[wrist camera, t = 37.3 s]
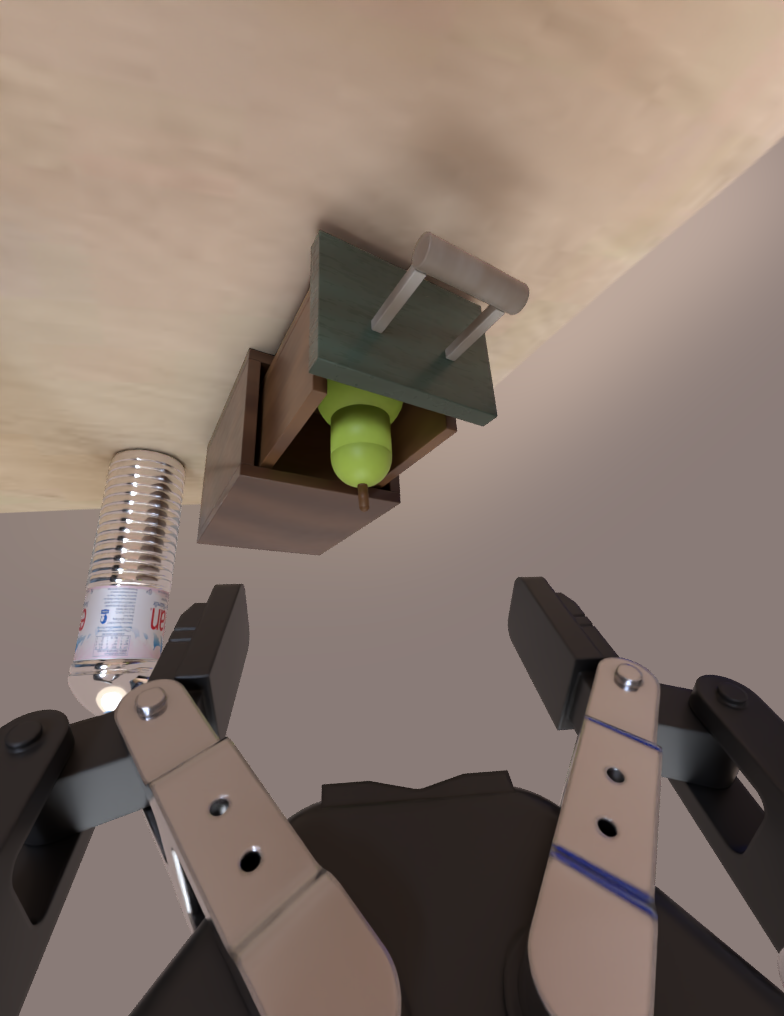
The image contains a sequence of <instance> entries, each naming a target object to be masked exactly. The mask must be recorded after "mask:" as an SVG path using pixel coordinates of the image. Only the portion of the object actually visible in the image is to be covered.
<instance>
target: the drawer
mask: <svg viewBox="0 0 784 1016" xmlns="http://www.w3.org/2000/svg"><path fill="white" fill-rule="evenodd" d="M426 274H427V275H429V276H431V277H433V278H435V279H438V280H440V281H442V282H444V283H446V284H448V285H450V286H452V287H454V288H456V289H458V290H460V291H462V292H464V293H466V294H469V295H471V296H473V297H475V298H477V299H479V300H481V301H483V302H485V303H487V304H489V306H488V307H487V308H486V309H485V310H484V311H483V312H481V307H480V306H479V305H477V304H475V303H473V302H471V301H469V300H466V299H464V298H462V297H460V296H458V295H456V294H454V293H452V292H450V291H448V290H445V289H443V288H441V287H439V286H437V285H435V284H433V283H431V282H429V281H427V280H424V278H425V277H426ZM528 297H529V288H528V286H527V285H526V284H525V283H523V282H521V281H519V280H517V279H516V278H514V277H512V276H510V275H508V274H506V273H504V272H503V271H501V270H499V269H497V268H495V267H493V266H492V265H490V264H488V263H486V262H484V261H482V260H480V259H479V258H477V257H475V256H473V255H471V254H469V253H468V252H466V251H464V250H462V249H460V248H458V247H456V246H455V245H453V244H451V243H449V242H447V241H445V240H444V239H442V238H440V237H438V236H436V235H434V234H432V233H431V232H425V233H424V234H423V235H422V236H421V237H420V238H419V240H418V241H417V243H416V246H415V248H414V251H413V255H412V265H411V266H410V268H409V269H408V270H407V271H405V270H403V269H401V268H399V267H397V266H395V265H393V264H391V263H389V262H387V261H384V260H382V259H380V258H378V257H376V256H374V255H372V254H370V253H368V252H366V251H363V250H361V249H359V248H357V247H355V246H353V245H351V244H349V243H347V242H344V241H342V240H340V239H338V238H336V237H334V236H332V235H330V234H328V233H326V232H323V231H321V230H319V232H318V234H317V236H316V238H315V241H314V243H313V245H312V247H311V276H310V288H309V290H308V292H307V294H306V296H305V298H304V300H303V302H302V304H301V306H300V308H299V310H298V312H297V314H296V316H295V318H294V320H293V322H292V324H291V326H290V328H289V329H288V331H287V333H286V335H285V337H284V339H283V341H282V343H281V345H280V347H279V349H278V351H277V353H276V355H275V357H274V359H273V361H272V363H271V365H270V367H269V369H268V371H267V373H266V374H265V376H264V378H263V380H262V382H261V384H260V386H259V399H258V414H257V429H256V443H255V458H254V466H259V467H264V468H269V469H275V470H280V471H285V472H291V473H296V474H301V475H306V476H312V477H317V478H322V479H328V480H333V481H338V482H343V481H342V480H341V479H340V478H339V477H338V476H337V475H336V473H335V472H334V470H333V467H332V464H331V426H330V425H329V424H328V423H327V422H326V420H325V419H324V418H323V417H322V415H321V413H320V412H319V409H318V406H319V404H320V403H321V402H322V400H323V399H324V398H325V396H326V395H327V379H329V380H333V381H336V382H339V383H342V384H346V385H349V386H352V387H356V388H359V389H362V390H365V391H369V392H372V393H375V394H378V395H382V396H385V397H388V398H392V399H395V400H398V401H401V402H403V405H402V408H401V410H400V412H399V414H398V416H397V418H396V419H395V420H394V421H393V423H392V424H391V425H390V426H391V444H392V463H391V467H390V470H389V472H388V473H387V475H386V476H385V478H384V479H383V480H382V481H380V482H379V483H377V484H376V485H374V486H371V487H370V488H376V489H381V488H382V487H383V486H385V485H386V484H387V483H389V482H390V481H391V480H393V479H394V478H395V477H397V476H398V475H399V474H401V473H402V472H403V471H405V470H406V469H407V468H409V467H410V466H411V465H413V464H414V463H415V462H417V461H418V460H419V459H421V458H422V457H423V456H425V455H426V454H428V453H429V452H430V451H432V450H433V449H434V448H435V447H437V446H438V445H440V444H441V443H442V442H443V441H445V440H446V439H448V438H449V437H450V436H452V435H453V434H454V433H456V432H457V426H456V418H457V419H461V420H464V421H467V422H470V423H474V424H477V425H480V426H485V425H486V424H488V423H489V422H490V421H492V420H493V419H495V418H496V417H497V410H496V404H495V397H494V391H493V384H492V377H491V371H490V364H489V358H488V351H487V345H486V338H485V332H486V331H487V330H488V329H489V328H490V327H491V326H492V325H493V324H494V323H495V322H496V321H497V320H498V319H500V318H501V317H502V316H503V315H504V313H505V312H506V313H508V314H510V315H514V314H517V313H519V312H520V311H521V310H522V309H523V307H524V306H525V304H526V303H527V300H528Z"/></svg>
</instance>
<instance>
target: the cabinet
mask: <svg viewBox="0 0 784 1016" xmlns="http://www.w3.org/2000/svg"><path fill="white" fill-rule="evenodd" d="M274 357H275V356H273V355H269V354H266V353H263V352H260V351H257V350H253V349H249V351H248V353H247V356H246V358H245V360H244V363H243V365H242V367H241V370H240V372H239V374H238V377H237V379H236V381H235V384H234V386H233V388H232V391H231V393H230V395H229V398H228V400H227V402H226V405H225V407H224V409H223V412H222V414H221V416H220V419H219V421H218V423H217V426H216V428H215V430H214V433H213V435H212V437H211V440H210V442H209V444H208V447H207V455H206V463H205V473H204V482H203V491H202V500H201V509H200V518H199V528H198V537H197V543H199V544H209V545H220V546H229V547H239V548H249V549H259V550H269V551H281V552H290V553H300V554H310V555H321V554H323V553H324V552H326V551H327V550H329V549H330V548H332V547H333V546H335V545H336V544H338V543H339V542H341V541H343V540H344V539H346V538H347V537H349V536H350V535H352V534H353V533H355V532H356V531H358V530H360V529H361V528H363V527H364V526H366V525H367V524H369V523H371V522H372V521H373V520H375V519H377V518H378V517H380V516H381V515H383V514H384V513H386V512H387V511H389V510H391V509H392V508H393V507H395V506H396V505H398V504H400V487H399V486H400V485H399V475H398V476H397V477H395V478H394V479H393V480H391V481H390V482H389V483H387V484H386V485H385V486H383V487H382V488H381V489H376V488H370V487H368V495H369V506H370V507H369V510H368V511H367V512H362V511H361V510H360V509H359V501H358V489H357V488H356V487H352V486H349V485H347V484H346V483H344V482H338V481H333V480H328V479H322V478H317V477H312V476H306V475H301V474H296V473H291V472H285V471H280V470H275V469H269V468H264V467H259V466H254V458H255V443H256V429H257V414H258V399H259V386H260V384H261V382H262V380H263V378H264V376H265V374H266V373H267V371H268V369H269V367H270V365H271V363H272V361H273V359H274Z"/></svg>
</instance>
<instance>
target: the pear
mask: <svg viewBox="0 0 784 1016" xmlns="http://www.w3.org/2000/svg"><path fill="white" fill-rule="evenodd" d="M402 405H403V402H401V401H398V400H395V399H392V398H388V397H385V396H382V395H378V394H375V393H372V392H369V391H365V390H362V389H359V388H356V387H352V386H349V385H346V384H342V383H339V382H336V381H333V380H329V379H327V395H326V396H325V398H324V399H323V400H322V402H321V403H320V404H319V406H318V409H319V412H320V413H321V415H322V417H323V418H324V419H325V420H326V422H327V423H328V424H329V425H330V426H331V464H332V467H333V470H334V472H335V473H336V475H337V476H338V477H339V478H340V479H341V480H342V481H343V482H344V483H346V484H347V485H349V486H352V487H356V488H357V489H358V501H359V509H360V510H361V511H362V512H367V511H368V510H369V507H370V506H369V495H368V487H371V486H374V485H376V484H377V483H379V482H380V481H382V480H383V479H384V478H385V476H386V475H387V473H388V472H389V470H390V467H391V463H392V444H391V426H390V425H391V424H392V423H393V421H394V420H395V419H396V418H397V416H398V414H399V412H400V410H401V408H402Z"/></svg>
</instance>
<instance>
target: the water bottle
mask: <svg viewBox="0 0 784 1016" xmlns="http://www.w3.org/2000/svg"><path fill="white" fill-rule="evenodd" d="M184 479H185V470H184V467H183V465H182V464H181V463H180V462H179V461H178V460H176V459H175V458H173V457H171V456H168V455H166V454H163V453H160V452H155V451H150V450H139V449H135V450H126V451H122V452H120V453H118V454H116V455H115V456H114V457H113V459H112V461H111V463H110V468H109V470H108V477H107V480H106V486H105V493H104V496H103V503H102V506H101V513H100V516H99V522H98V530H97V532H96V540H95V542H94V549H93V552H92V559H91V562H90V570H89V572H88V579H87V583H86V588H87V591H86V597H85V602H84V607H83V612H82V618H81V623H80V628H79V634H78V640H77V644H76V649H75V655H74V660H73V662H74V663H73V664H72V665H71V666H70V670H69V672H70V673H71V675H69V676H68V684H69V687H70V689H71V691H72V692H73V694H74V696H75V697H76V699H77V700H78V701H79V702H80V703H81V704H82V705H83V706H84V707H85V708H86V709H87V710H88V711H90V712H91V713H93V714H94V715H96V716H100V715H103V714H106V713H109V712H111V711H114V710H115V709H116V707H117V705H118V703H119V702H120V700H121V699H122V698H123V697H124V696H125V695H126V694H127V693H128V692H130V691H131V690H133V689H134V688H136V687H138V686H140V685H142V684H144V683H147V681H148V679H149V677H150V675H151V673H152V671H153V669H154V667H155V665H156V663H157V661H158V659H159V657H160V655H161V652H162V645H163V637H164V629H165V622H166V614H167V606H168V599H169V592H170V591H171V586H172V584H171V582H172V578H173V574H172V573H173V570H174V562H175V553H176V545H177V536H178V528H179V523H180V521H179V519H180V515H181V512H180V511H181V507H182V499H183V491H184V483H185V480H184Z"/></svg>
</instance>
